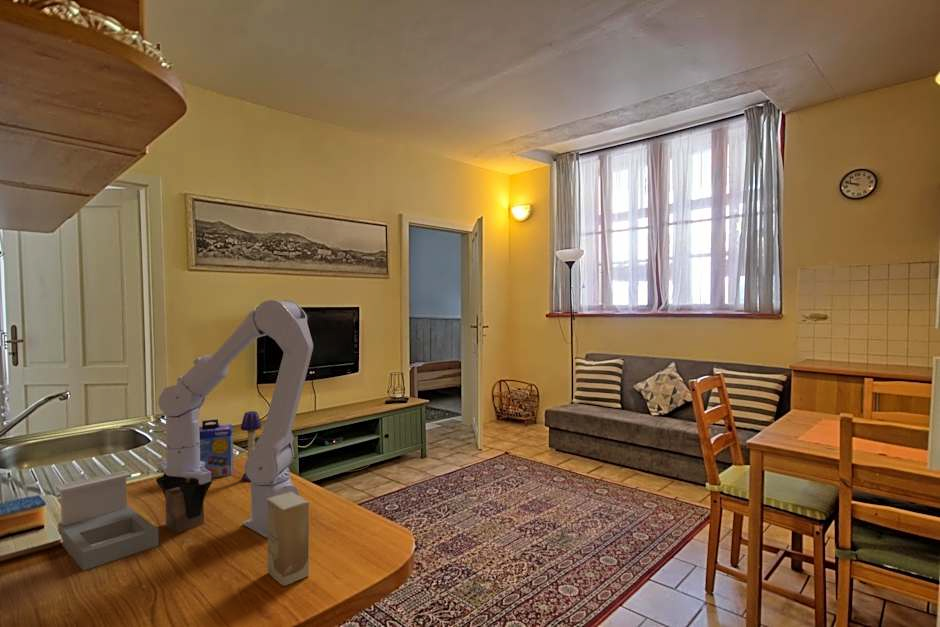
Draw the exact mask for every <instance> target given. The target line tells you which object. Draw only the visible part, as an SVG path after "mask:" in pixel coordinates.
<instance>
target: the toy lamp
mask: <svg viewBox="0 0 940 627" xmlns="http://www.w3.org/2000/svg"><path fill="white" fill-rule="evenodd" d="M261 428H262V423H261V419H260V416H259V413H258V411H253V410H251V411H246V412H244V415H243V418H242V421H241V425H240V430H241V431H245V432H247V456H246V457H247V458H246V459H248V457H249V456H250V455H251V454H252V453H253V451H254V448H255V445H256V441H255V440H256V435H255V433H256V430H259V429H260V430H261ZM241 480H242V481H243V482H251V480H250V479H249V478H248V477H247V475H246V473H245V472H244V473H243V475H242V477H241Z"/></svg>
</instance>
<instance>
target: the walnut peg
mask: <svg viewBox="0 0 940 627" xmlns="http://www.w3.org/2000/svg"><path fill="white" fill-rule="evenodd" d="M165 494H166V498H165V523H166V524H165V525H166V527H168V528H169V529H170V530H172V532H174V533H176V534H178V533H181V532H183V531H187V530H189V529H193V528H196V527H198V526H202V525H204V524H205V518H204V517H205V516H204V515H205V514H204V511H205V510H204V504H203V505H202V509H201V513H200V515H199V516H197V517H194V518H192V519H189V518H188V517H187V513H186V505H185V500H184V496H183V494H182V492H181V490H180V488H179V487H177V488H173V489H169V490H165Z"/></svg>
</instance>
